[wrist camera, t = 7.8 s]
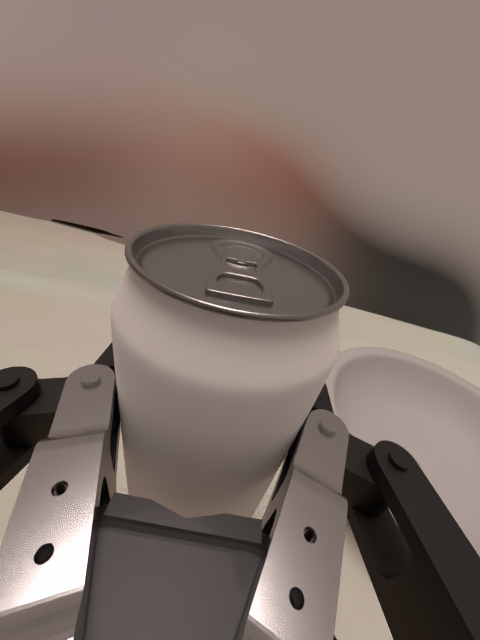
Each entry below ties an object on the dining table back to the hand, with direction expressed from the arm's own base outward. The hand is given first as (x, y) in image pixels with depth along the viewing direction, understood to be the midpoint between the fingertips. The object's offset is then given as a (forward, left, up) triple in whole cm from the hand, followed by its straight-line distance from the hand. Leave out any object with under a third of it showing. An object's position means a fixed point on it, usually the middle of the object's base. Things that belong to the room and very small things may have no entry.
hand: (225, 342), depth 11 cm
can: (0, -3, -7) cm, 8 cm away
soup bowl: (+22, +7, -18) cm, 29 cm away
